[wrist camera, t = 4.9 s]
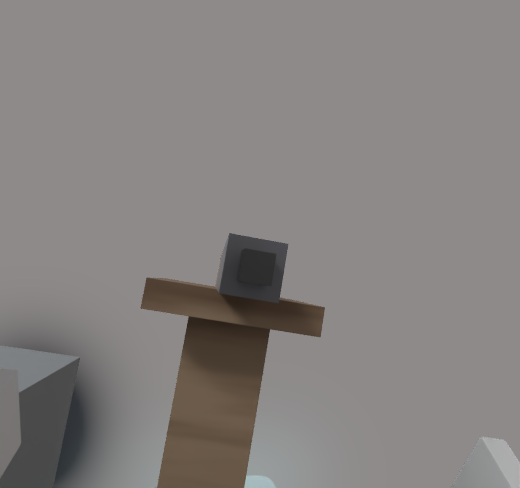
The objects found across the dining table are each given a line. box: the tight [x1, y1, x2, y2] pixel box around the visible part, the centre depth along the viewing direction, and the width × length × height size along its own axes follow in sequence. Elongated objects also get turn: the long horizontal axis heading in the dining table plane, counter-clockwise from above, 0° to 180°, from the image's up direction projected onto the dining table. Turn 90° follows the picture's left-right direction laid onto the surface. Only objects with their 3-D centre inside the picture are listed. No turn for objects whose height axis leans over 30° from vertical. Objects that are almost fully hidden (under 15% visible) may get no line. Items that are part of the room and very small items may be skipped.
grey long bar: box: [215, 234, 288, 303], centre depth 29 cm, size 24×3×3 cm, turn 7°
